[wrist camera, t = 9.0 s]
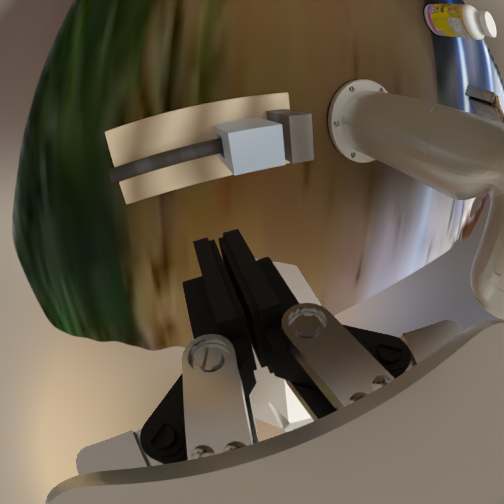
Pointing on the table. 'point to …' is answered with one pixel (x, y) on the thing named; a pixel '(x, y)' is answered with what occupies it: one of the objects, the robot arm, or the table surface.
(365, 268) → the table surface
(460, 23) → the supplement bottle
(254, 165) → the sleeve
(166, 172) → the board
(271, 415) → the milk
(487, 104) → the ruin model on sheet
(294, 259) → the table surface
